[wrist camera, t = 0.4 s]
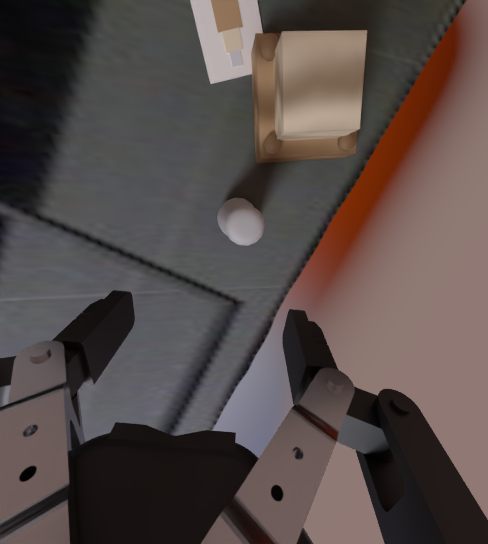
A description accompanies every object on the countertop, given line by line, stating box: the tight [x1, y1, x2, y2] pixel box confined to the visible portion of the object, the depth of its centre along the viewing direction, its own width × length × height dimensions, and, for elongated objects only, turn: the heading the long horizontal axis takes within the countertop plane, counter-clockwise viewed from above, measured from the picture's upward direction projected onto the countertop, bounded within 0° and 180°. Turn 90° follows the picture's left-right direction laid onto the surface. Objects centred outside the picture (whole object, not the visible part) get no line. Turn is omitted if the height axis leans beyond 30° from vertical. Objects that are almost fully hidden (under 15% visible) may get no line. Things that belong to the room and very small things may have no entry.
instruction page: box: [190, 0, 263, 84], centre depth 29 cm, size 10×8×1 cm
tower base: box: [251, 30, 367, 163], centre depth 29 cm, size 13×13×8 cm
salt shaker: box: [217, 198, 265, 246], centre depth 30 cm, size 6×6×13 cm
